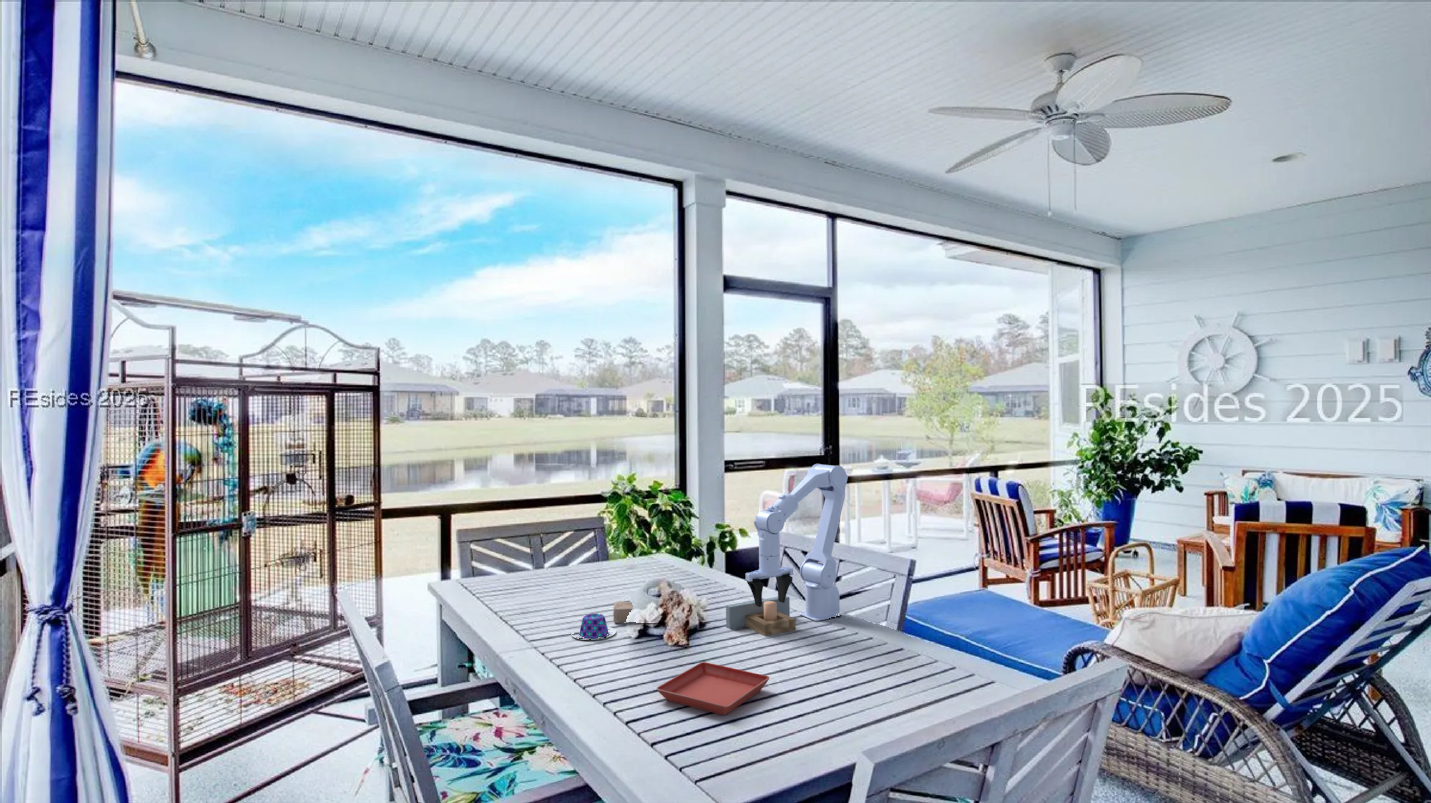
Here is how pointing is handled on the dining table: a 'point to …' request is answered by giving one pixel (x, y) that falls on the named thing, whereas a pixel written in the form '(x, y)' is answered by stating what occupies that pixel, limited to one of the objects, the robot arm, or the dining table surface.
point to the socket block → (770, 624)
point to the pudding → (594, 627)
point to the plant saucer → (713, 687)
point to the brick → (621, 611)
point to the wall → (751, 611)
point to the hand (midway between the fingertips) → (770, 603)
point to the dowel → (770, 610)
